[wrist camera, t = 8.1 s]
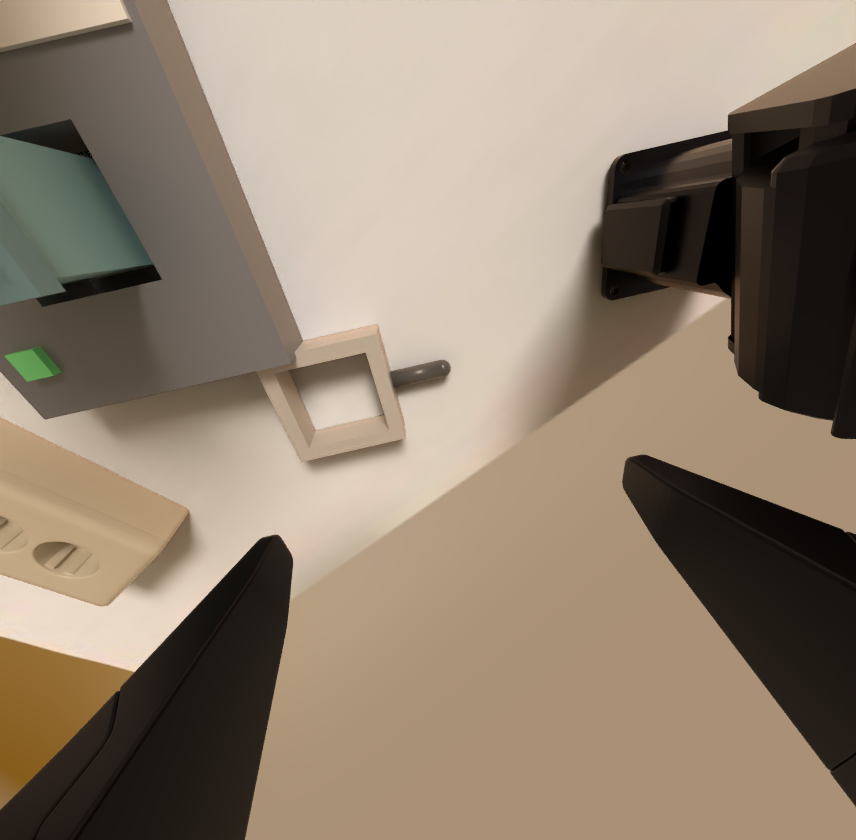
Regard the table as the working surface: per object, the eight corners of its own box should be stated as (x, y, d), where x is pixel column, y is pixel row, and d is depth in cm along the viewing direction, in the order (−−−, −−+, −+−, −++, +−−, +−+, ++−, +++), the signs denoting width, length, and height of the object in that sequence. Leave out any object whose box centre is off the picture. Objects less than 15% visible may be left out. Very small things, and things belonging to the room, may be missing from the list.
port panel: (145, -53, 11) (60, -154, 8) (304, 344, 18) (288, 366, 15) (-200, 27, 11) (-407, -44, 8) (93, 392, 18) (37, 423, 15)
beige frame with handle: (439, 309, 18) (445, 317, 16) (457, 409, 21) (463, 425, 20) (263, 349, 18) (251, 362, 16) (307, 443, 21) (301, 462, 20)
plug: (131, 153, 14) (-128, 74, 7) (190, 267, 16) (41, 295, 9) (27, 176, 14) (-337, 123, 7) (101, 288, 16) (-116, 331, 9)
